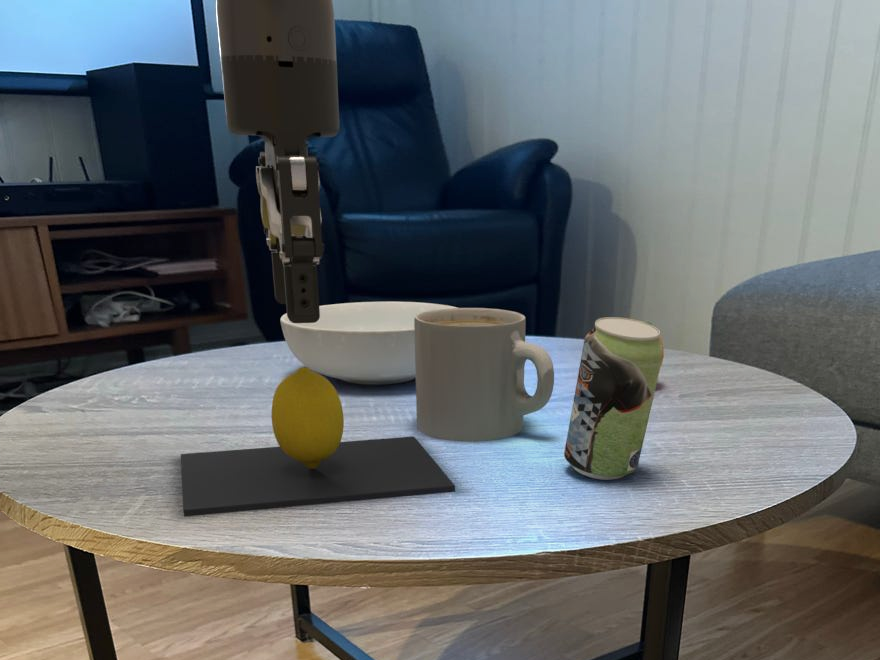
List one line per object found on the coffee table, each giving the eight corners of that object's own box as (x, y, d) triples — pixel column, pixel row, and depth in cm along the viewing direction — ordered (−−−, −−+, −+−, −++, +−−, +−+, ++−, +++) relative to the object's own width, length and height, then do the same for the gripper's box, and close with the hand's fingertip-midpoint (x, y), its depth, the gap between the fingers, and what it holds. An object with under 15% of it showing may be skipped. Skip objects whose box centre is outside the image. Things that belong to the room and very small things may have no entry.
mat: (184, 517, 67) (183, 510, 66) (181, 460, 78) (180, 453, 78) (455, 492, 72) (455, 485, 71) (414, 442, 84) (414, 436, 83)
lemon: (348, 477, 73) (341, 373, 69) (275, 481, 72) (265, 375, 68) (345, 457, 78) (339, 358, 74) (277, 459, 77) (267, 360, 73)
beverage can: (586, 457, 80) (595, 310, 74) (665, 473, 76) (681, 319, 71) (547, 475, 75) (554, 320, 70) (629, 493, 72) (643, 331, 66)
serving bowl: (436, 353, 119) (435, 296, 115) (496, 390, 101) (497, 323, 98) (271, 364, 112) (265, 304, 109) (305, 405, 95) (300, 335, 92)
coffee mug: (395, 427, 88) (391, 316, 83) (469, 408, 94) (469, 304, 89) (499, 457, 80) (501, 336, 75) (572, 434, 86) (578, 321, 81)
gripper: (215, 59, 67) (238, 299, 74) (225, 42, 55) (252, 331, 62) (320, 63, 68) (332, 297, 76) (353, 48, 56) (364, 327, 64)
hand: (296, 312), depth 69 cm, fingers open, 8 cm apart
